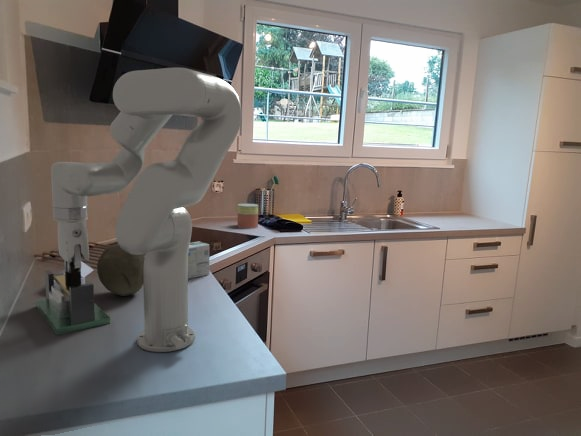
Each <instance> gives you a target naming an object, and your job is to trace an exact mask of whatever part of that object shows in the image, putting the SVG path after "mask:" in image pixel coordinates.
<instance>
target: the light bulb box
mask: <svg viewBox="0 0 581 436" xmlns="http://www.w3.org/2000/svg"><path fill="white" fill-rule="evenodd" d="M209 275H210V244H209V243H206V242H202V241H199V240H198V241H194V242H190V244H189V252H188V280H190V279H194V278H198V277H203V276H209Z"/></svg>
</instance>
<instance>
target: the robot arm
mask: <svg viewBox="0 0 581 436" xmlns="http://www.w3.org/2000/svg"><path fill="white" fill-rule="evenodd" d="M239 98H240V97H239V95H238V93H237V92H236V91H235V89H234V87H233V86H231V85H230V84H229V83H228V82H227V81H225V80H224V79H222V78H220V77H217V76H215V75H213V74H208V73H205V72H204V73H203V72H201V71H198V70H194V69H190V68H186V67H165V68H164V67H163V68H156V69H155V68H152V69H142V70H140V69H139V70H132V71H128V72H126V73H124V74H122V75H121V76H120V77H119V78H118V79H117V81H116V82H115V84H114V86H113V90H112V100H113V103H114V105H115V107H116V108H117V109H118V110H119V111H120V112H119V113H118V115H117V116H116V117H115V119H114V120H113V121H112V122H111V124H110V126H109V131H110V134H111V136H112V138H113V139H114V140H115V142H116V143H117V144H119V146H120V147H121V148H120V150H119V151H118V153H117V154H116V155H115V157H113V158H112V160H111V161H110V162H106V161H105V162H89V163H88V162H86V163H82V162H79V161H57V162H54V163H53V164H51V168H50V176H51V195H52V196H51V197H52V219H53V221H54V222H57V248H58V255H59V256H60V257H61V258H62V259H63V260H64V261H63V262H64V269H65V284H66V287H67V288H68V289H69V287H70V286H77V285H81V261H82V260H84V261H85V262H86V261H87V262H88V261H89V260H90V250H89V249H90V246H89V237H88V236H89V235H88V227H87V222H86V221H88V219H89V214H88V210H89V209H88V197H96V196H101V195H110V194H117V193H120V192H122V191H123V190H125V189H126V188H127V187H128V186H130V184H131V183H132V182H133V181H134V180H135V181H134V182H133V185H132V186H131V189H130V192H129V193H128V195H127V197H126V200H125V202H124V204H123V206H122V208H121V209H120V212H119V215H118V217H117V219H116V224H115V228H114V229H115V230H114V232H115V233H114V234H115V238H116V242H117V244H119V246H120V247H121V248H122V249H123V250H124V251H126V252H127V253H130V254H135V255H140V254H143V255H144V258H145V259H144V268H143V274H144V275H143V278H144V280H143V281H144V284H143V321H144V323H143V325H144V327H143V328H144V330H143V331H141V332H140V333H139V334H138V336H137V339H136V340H137V345H138V346H139V348H141V349H142V350H144V351H145V350H146V351H147V352H148V351H149V352H153V353H168V352H174V351H179V350H182V349H184V348H187V347H188V346H190V345H191V344H193V343H194V341H195V337H196V335H195V331H194V330H193V329H192V328H190V327H189V322H188V321H189V319H188V316H189V315H188V314H189V309H188V308H189V300H188V299H189V292H188V291H189V289H188V288H189V284H188V283H189V281H188V280H189V279H188V252H189V244H190V243H191V238H192V232H193V221H192V218H191V215H190V213H189V211H188V210H187V209H186V207H191V206H194V205H196V204H198V203H199V202H201V200H203V198H204V197H205V195H206V193H207V191H208V189H209V187H210V186H211V184H212V181H214V180H213V179H214V178H215V176H216V174H217V172H218V170H219V169H220V167H221V164H222V162H223V161H224V158H225V156H226V155H227V154H228V152H229V150H230V149H231V146H232V145H233V143H234V141H235V139H236V138H237V135H238V134H239V131H240V127H241V125H242V120H243V110H242V105H241V100H240V99H239ZM172 116H184V117H185V116H186V117H195V118H200V121H199V123H198V124H197V126H195V127H194V128H193V129H192V131H190V133H189V134H188V135H187V137H186V139H185V140H184V142H183V145H182V146H181V149H180V150H179V152H178V154H177V155H176V157H175V158H174V159H173V160H171V161H159V162H158V161H157V162H154V163H151V164H149V165H148V166H147V167H145V168H143V166H144V162H145V157H146V151H145V149H146V148H147V146H148V145H149V144H150V143H151V142H152V141H153V140H154V138H155V137H156V136H157V134H158V133H159V132H160V131H161V129H162V128H163V127H164V126H165V125H166V124H167V123H168V122H169V120H170V119H171V118H172ZM142 168H143V170H142ZM135 178H136V179H135Z"/></svg>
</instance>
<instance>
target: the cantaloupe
mask: <svg viewBox="0 0 581 436" xmlns="http://www.w3.org/2000/svg"><path fill="white" fill-rule="evenodd" d="M144 259H145V255H144V254H140V255H135V254H130V253H127V252H126V251H124V250H123V249H122V248H121V247H120V246H119V244H118V243H116V244H112V245H110V246H108V247H106V248H105V249H104V251H102V252H101V255H100V256H99V258H98V260H97V264H96V266H97V267H96V271H97V277H98V280H99V281H100V283H101V285H103V286H104V288H105V289H106V290H107V291H108V292H110V293H112V294H114V295H118V296H120V297H127V296H132V295H134V294H137V292H139V291H140V290H141V289H142V288H143V287H144V281H143V280H144V278H143V275H144V274H143V268H144Z"/></svg>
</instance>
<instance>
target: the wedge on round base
mask: <svg viewBox="0 0 581 436" xmlns="http://www.w3.org/2000/svg"><path fill="white" fill-rule="evenodd" d="M93 271H94V268H92V267H91V266H90V265H88V264H86V263H84V262H83V261H82V260H81V283H82V284H86V277H87V276H89V274H91V273H92V272H93ZM59 273H65V268H63V269H62V270H61V271H60V272H59ZM54 285H55V286H56V288H57V289H58V290H60V286H59V285H58V283H57V282H56V281H55V280H54Z"/></svg>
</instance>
